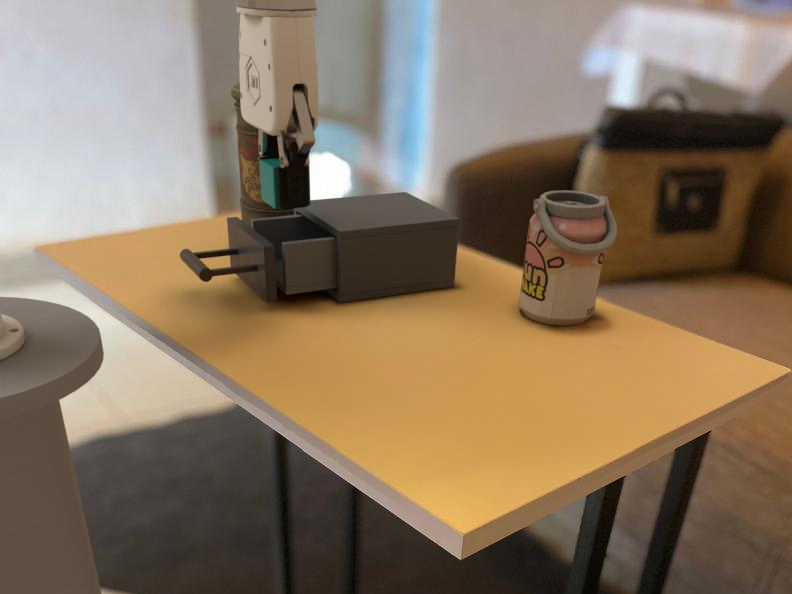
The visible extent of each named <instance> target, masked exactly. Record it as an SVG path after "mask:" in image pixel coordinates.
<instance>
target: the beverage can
mask: <svg viewBox="0 0 792 594" xmlns="http://www.w3.org/2000/svg"><path fill="white" fill-rule="evenodd" d="M608 198H609V197H607V196H606V195H596V194H594V193H590V192H584V191H579V190H578V191H577V190H565V189H564V190H550V191H546V192H544V193H542V194H540V195H539V198H535V199H534V200H533V205H532V206H533V211H534V213H533V215H532V216H531V217H530V219H529V222H528V230H527V237H526V245H525V246H526V247H525V254H524V262H523V271H522V277H521V286H520V293H519V301H518V302H519V303H518V304H519V305H518V306H519V308H520V310H521V311H522V312H523V314H524V315H525V316H526V317H527V318H529V319H530V320H532V321H535V322H537V323H541V324H545V325H550V326H559V327H560V326H562V327H563V326H566V327H567V326H576V325H580V324H582V323H584V322H586V321H587V320H588V319H590V318H591V316H592V315H593V314H594V312H595V311H596V310H595V309H596V305H597V298H598V292H599V286H600V282H601V275H602V270H603V265H604V259H605V253H606V251H607V250H609V249H611V248H612V246H613V245H614V243H615V241H616V240H617V237H618V236H617V235H618V234H617V233H618V232H617V231H618V225H617V222H616V219H615V217H614V214H613V213H612V210H611V208H610V201H609V199H608Z"/></svg>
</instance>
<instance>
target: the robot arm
mask: <svg viewBox="0 0 792 594" xmlns="http://www.w3.org/2000/svg"><path fill="white" fill-rule="evenodd" d="M235 5H236V6H235V7H236V13H237V14H240V16H239V32H238V34H239V35H238V48H239V49H238V63H239V65H238V66H239V84H240V102H241V114H242V117H243V118H244V120H245V121H246V122H247V123H249V124H250V125H252V126H254V127H256V128H257V130H256V131H257V134H258V150H259V154H260V156H265V157H260V160H262V159H277V158H280V165H281V167H277V183H278V204H279V207H280V208H282V209H291V208H302V207H307V206H308V205H309V178H308V167H310V164H311V163H310V153H311V149H312V148H313V146H314V145H315V143H316V135H315V131H316V130H317V128H318V126H319V77H318V64H317V62H318V61H317V50H316V40H315V39H316V38H315V30H314V23H313V17H317V16H318V0H235ZM287 126H293V127H295V128H296V131H297V132H290V133H287ZM287 139H295V142H291V143H290V146H289V148H288V147H287ZM24 341H25V335H24V330H23V327H22V325H21V323H20V322H18V321H17V320H15V319H14V318H11V317H9V316H7V315H3V314H1V312H0V360H3V359H5V358H7V357H9V356H10V355H12V354H14V353H15V352H16V351H18V350H19V349H20V348H21V346H22V345H23V344H24Z"/></svg>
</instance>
